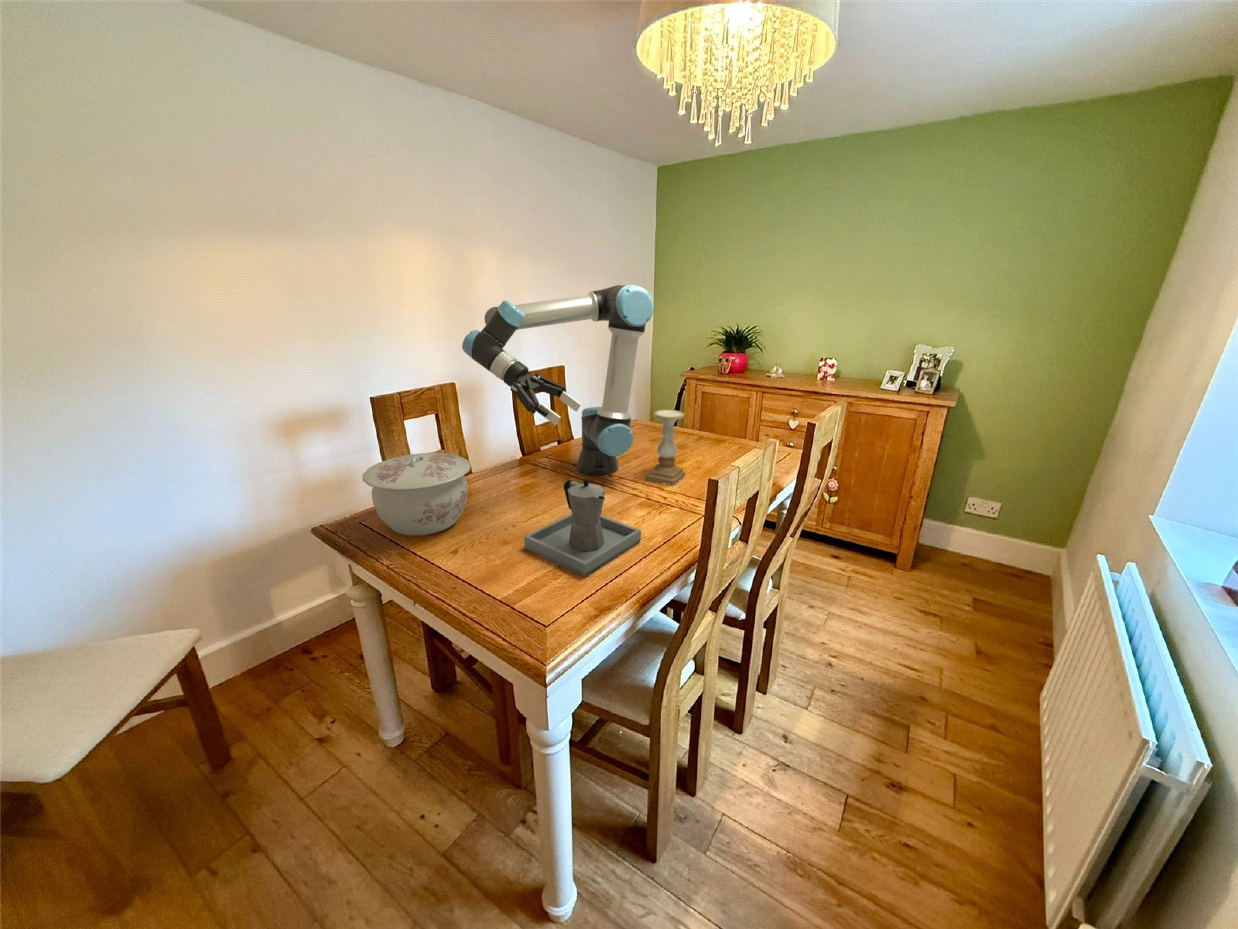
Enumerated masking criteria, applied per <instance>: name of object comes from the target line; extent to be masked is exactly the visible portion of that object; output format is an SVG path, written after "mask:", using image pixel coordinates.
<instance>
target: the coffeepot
mask: <svg viewBox="0 0 1238 929" xmlns="http://www.w3.org/2000/svg"><path fill="white" fill-rule="evenodd" d="M563 490H564V493H565V499H566V503H567V507H568V509H569V510H570V511H571V513H572V515H573V521H572V525H571V531H570V537H569V543H570V545H571V547H572V548H573V549H575V550H578V551H594V550H597V549H599V548H600V547H601V546H602V545H603V543H604V537H603V532H602V526H601V521H600V519H599V516H600V515H602V511H603V507H604V506H603V505H604V502H605V501H606V496H605V495H606V494H605V493H606V490H605V489H604V488H603V486H602V485H601V484H595V483H590V479H589V478H583V479H582V483H578V482H577V481H573V480H571V479H567V480H566V481H565V482H564V484H563Z"/></svg>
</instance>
